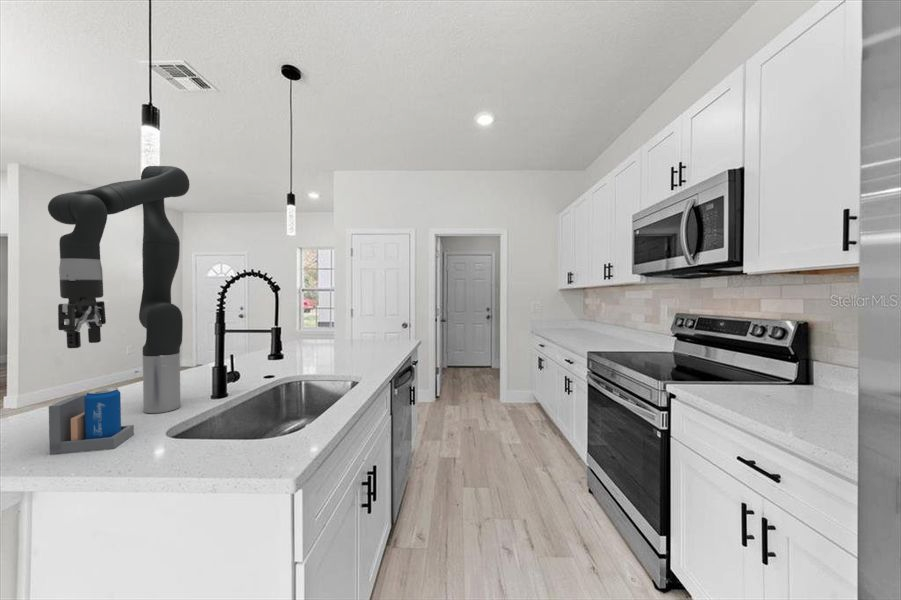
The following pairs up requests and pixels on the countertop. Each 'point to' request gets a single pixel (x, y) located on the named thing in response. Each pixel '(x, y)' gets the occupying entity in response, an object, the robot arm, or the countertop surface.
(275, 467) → the countertop surface
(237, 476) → the countertop surface
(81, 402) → the grey bracket
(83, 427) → the thin tan plate
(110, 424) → the beverage can
